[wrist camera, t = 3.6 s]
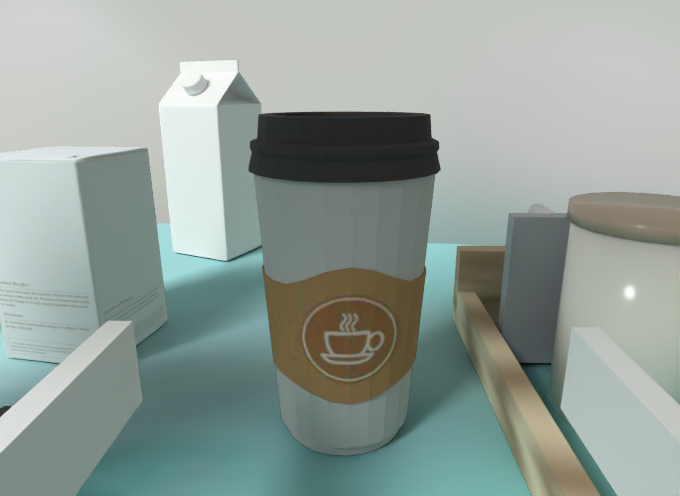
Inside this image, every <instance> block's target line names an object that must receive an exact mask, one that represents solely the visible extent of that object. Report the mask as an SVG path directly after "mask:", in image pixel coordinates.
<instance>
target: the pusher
mask: <svg viewBox="0 0 680 496" xmlns="http://www.w3.org/2000/svg"><path fill="white" fill-rule="evenodd" d="M570 223H571V221H570V220H569V219H568V218H567V213H565V214H564V213H554V212H552V211H551V210H549V209H547V208H546V207H544V206H542V205H540V204H534V205H532V206H531V207H530V209H529V213H509V218H508V228H507V238H506V248H505V259H504V269H503V279H502V289H501V300H500V310H499V320H498V330H499V332H500V333H501V335H502V337H503V338H504V340H505V342H506V343H507V345H508V346H509V348H510V350H511V351H512V353H513V355H514V356H515V358H516V359H517V361H518V363H552V357H553V349H554V342H555V335H556V327H557V320H558V312H559V305H560V297H561V290H562V282H563V275H564V267H565V260H566V252H567V245H568V238H569V230H570Z"/></svg>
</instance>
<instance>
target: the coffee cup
mask: <svg viewBox="0 0 680 496" xmlns="http://www.w3.org/2000/svg"><path fill="white" fill-rule="evenodd" d="M431 137H432V136H431V119H430V114H424V113H404V112H403V113H402V112H289V113H288V112H287V113H267V114H258V130H257V138H256V139H253V140H251V141H250V150H251V152H252V153H251V158H250V162H249V167H248V170H249V172H250V173H253V174H254V183H255V191H256V200H257V209H258V218H259V226H260V235H261V244H262V253H263V261H264V265H263V266H262V268H263V276H264V285H265V293H266V302H267V310H268V319H269V327H270V336H271V344H272V353H273V360H274V363H275V366H276V375H277V384H278V392H279V401H280V410H281V417H282V420H283V421H284V423H285V425H286V426H287V428H288V429H289V431H290V432H291V434H292V435H293V437H294V438H295V439H296V440H297V441H299V442H300V443H301V444H302V445H304V446H306V447H308V448H310V449H312V450H314V451H317V452H321V453H325V454H330V455H344V456H350V455H357V454H364V453H367V452H370V451H373V450H376V449H379V448H380V447H382V446H384V445H385V444H387V443H388V442H390V441H391V440H392V439H393V437H394V436H395V435H396V434H397V432H398V430H399V428H400V427H401V426H402V425H403V424H404V421H405V418H406V415H407V410H408V401H409V393H410V384H411V376H412V367H413V363H414V360H415V358H416V349H417V341H418V333H419V325H420V316H421V308H422V300H423V292H424V283H425V275H426V268H425V258H426V249H427V241H428V231H429V223H430V215H431V207H432V198H433V190H434V181H435V174H437V173H438V172H439V171H440V164H439V160H438V155H437V151H438V149H439V142H438V141H437V140H435V139H433V138H431Z"/></svg>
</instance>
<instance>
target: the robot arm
mask: <svg viewBox="0 0 680 496" xmlns="http://www.w3.org/2000/svg"><path fill="white" fill-rule="evenodd" d="M142 401H143V397H142V389H141V382H140V374H139V366H138V358H137V351H136V343H135V335H134V327H133V321H107V322H106V323H105V324H103V325H102V326H101V327H100V328H99V329H98V330H97V331H96V332H95V333H93V334H92V335H91V336H90V337H89V338H88V339H87V340H86V341H85V342H83V343H82V344H81V345H80V346H79V347H78V348H77V349H76V350H75V351H73V352H72V353H71V354H70V355H69V356H68V357H67V358H66V359H65V360H63V361H62V362H61V363H60V364H59V365H58V366H57V367H56V368H55V369H53V370H52V371H51V372H50V373H49V374H48V375H47V376H46V377H44V378H43V379H42V380H41V381H40V382H39V383H38V384H37V385H36V386H34V387H33V388H32V389H31V390H30V391H29V392H28V393H27V394H26V395H24V396H23V397H22V398H21V399H20V400H19V401H18V402H17V403H16V404H14V405H13V406H4V407H2V408H1V409H0V496H76V494H77V493H78V492H79V490H80V489H81V487H82V486H83V484H84V483H85V482H86V480H87V479H88V477H89V476H90V475H91V473H92V472H93V470H94V469H95V467H96V466H97V465H98V463H99V462H100V460H101V459H102V458H103V456H104V455H105V453H106V452H107V450H108V449H109V448H110V446H111V445H112V443H113V442H114V441H115V439H116V438H117V436H118V435H119V433H120V432H121V431H122V429H123V428H124V426H125V425H126V424H127V422H128V421H129V419H130V418H131V416H132V415H133V414H134V412H135V411H136V409H137V408H138V407H139V405H140V404H141V402H142ZM561 410H562V411H563V413H564V414H565V416H566V417H567V419H568V420H569V422H570V424H571V425H572V427H573V428H574V430H575V431H576V433H577V434H578V436H579V437H580V439H581V440H582V442H583V444H584V445H585V447H586V448H587V450H588V451H589V453H590V454H591V456H592V457H593V459H594V460H595V462H596V464H597V465H598V467H599V468H600V470H601V471H602V473H603V474H604V476H605V477H606V479H607V480H608V482H609V483H610V485H611V487H612V488H613V490H614V491H615V493H616V494H617V496H680V405H679V404H678V403H677V402H676V401H675V400H674V399H673V398H672V397H671V396H670V395H669V394H667V393H666V392H665V391H664V390H663V389H662V388H661V387H660V386H659V385H658V384H657V383H656V382H655V381H654V380H653V379H652V378H651V377H650V376H649V375H648V374H647V373H646V372H645V371H644V370H642V369H641V368H640V367H639V366H638V365H637V364H636V363H635V362H634V361H633V360H632V359H631V358H630V357H629V356H628V355H627V354H626V353H625V352H624V351H623V350H622V349H621V348H620V347H618V346H617V345H616V344H615V343H614V342H613V341H612V340H611V339H610V338H609V337H608V336H607V335H606V334H605V333H604V332H603V331H602V330H601V329H600V328H599V327H572V331H571V338H570V345H569V352H568V359H567V366H566V373H565V380H564V387H563V394H562V401H561Z"/></svg>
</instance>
